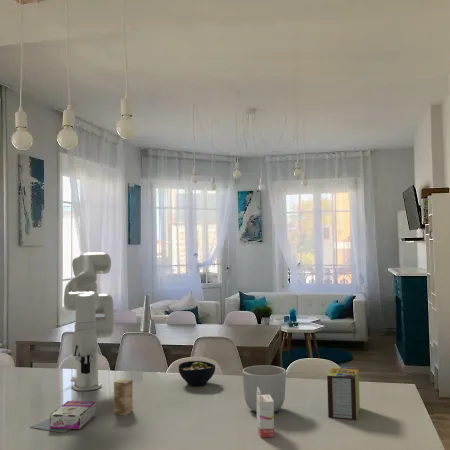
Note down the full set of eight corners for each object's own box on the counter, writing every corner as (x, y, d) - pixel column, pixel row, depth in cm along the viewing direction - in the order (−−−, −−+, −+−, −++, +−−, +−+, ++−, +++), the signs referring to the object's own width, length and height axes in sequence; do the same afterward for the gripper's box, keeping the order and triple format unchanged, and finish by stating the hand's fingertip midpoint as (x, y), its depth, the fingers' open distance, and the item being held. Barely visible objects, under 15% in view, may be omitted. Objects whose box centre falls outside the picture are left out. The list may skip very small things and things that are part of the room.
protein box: (360, 407, 198) (359, 367, 199) (356, 420, 183) (355, 377, 184) (332, 405, 201) (331, 365, 202) (327, 417, 187) (326, 375, 187)
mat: (30, 427, 180) (30, 426, 180) (63, 413, 196) (63, 412, 196) (63, 433, 174) (63, 432, 174) (95, 417, 190) (95, 416, 190)
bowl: (187, 391, 223) (187, 368, 223) (173, 382, 238) (172, 361, 239) (222, 386, 231) (221, 364, 231) (205, 377, 246) (205, 357, 246)
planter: (262, 400, 208) (262, 363, 209) (295, 409, 196) (295, 369, 197) (233, 410, 196) (233, 370, 197) (267, 420, 184) (266, 378, 185)
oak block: (114, 413, 194) (114, 382, 195) (121, 409, 199) (121, 378, 199) (125, 415, 192) (125, 383, 193) (132, 411, 197) (132, 380, 197)
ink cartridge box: (275, 437, 168) (274, 392, 169) (260, 438, 168) (259, 392, 168) (270, 428, 176) (269, 385, 177) (256, 428, 176) (255, 385, 177)
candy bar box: (67, 413, 194) (48, 428, 178) (67, 400, 194) (48, 414, 178) (95, 414, 193) (79, 429, 176) (96, 401, 193) (79, 415, 177)
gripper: (89, 322, 206) (90, 367, 206) (64, 328, 193) (64, 377, 192) (105, 323, 204) (105, 369, 203) (80, 329, 190) (80, 379, 189)
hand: (85, 373), depth 198 cm, fingers closed
